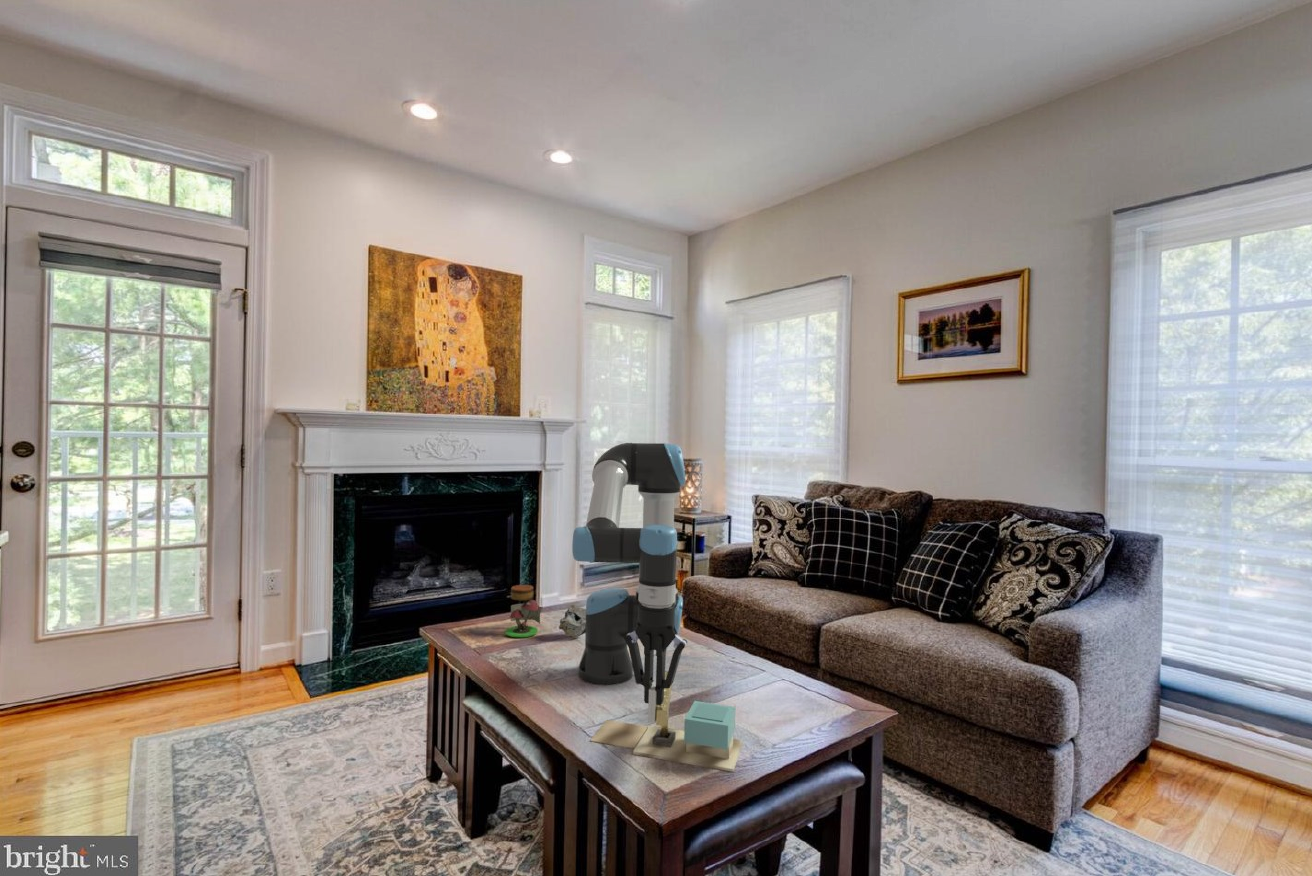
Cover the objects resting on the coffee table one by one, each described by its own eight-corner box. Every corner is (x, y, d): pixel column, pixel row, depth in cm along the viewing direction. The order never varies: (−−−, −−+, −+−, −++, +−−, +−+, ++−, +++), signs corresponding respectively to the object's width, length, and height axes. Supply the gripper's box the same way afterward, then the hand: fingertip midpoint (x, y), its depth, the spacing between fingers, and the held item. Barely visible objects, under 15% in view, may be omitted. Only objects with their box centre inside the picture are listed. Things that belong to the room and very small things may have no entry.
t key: (665, 765, 121) (666, 710, 121) (655, 764, 121) (656, 710, 121) (671, 718, 141) (672, 671, 141) (662, 718, 141) (663, 671, 141)
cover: (684, 742, 125) (684, 717, 125) (694, 722, 133) (694, 699, 133) (727, 749, 122) (728, 724, 122) (734, 729, 131) (735, 706, 131)
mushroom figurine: (538, 638, 196) (539, 592, 196) (499, 637, 196) (500, 591, 196) (545, 627, 208) (546, 583, 208) (508, 626, 208) (509, 582, 208)
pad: (590, 741, 131) (590, 740, 131) (606, 720, 141) (606, 719, 141) (633, 749, 128) (633, 748, 128) (647, 727, 138) (648, 726, 138)
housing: (633, 754, 126) (633, 737, 126) (650, 727, 138) (650, 712, 138) (733, 772, 120) (733, 754, 120) (742, 743, 132) (742, 727, 132)
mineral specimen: (570, 644, 191) (571, 612, 191) (555, 638, 197) (556, 607, 197) (594, 637, 198) (595, 607, 198) (579, 631, 204) (579, 601, 204)
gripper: (620, 604, 121) (616, 722, 121) (683, 612, 117) (679, 733, 117) (632, 595, 128) (629, 706, 128) (692, 601, 124) (688, 716, 125)
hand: (653, 719), depth 123 cm, fingers closed
